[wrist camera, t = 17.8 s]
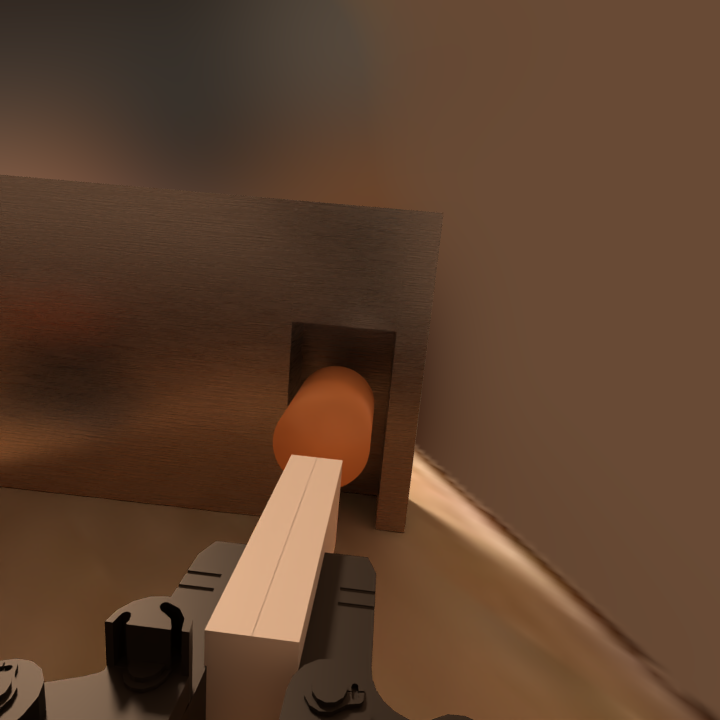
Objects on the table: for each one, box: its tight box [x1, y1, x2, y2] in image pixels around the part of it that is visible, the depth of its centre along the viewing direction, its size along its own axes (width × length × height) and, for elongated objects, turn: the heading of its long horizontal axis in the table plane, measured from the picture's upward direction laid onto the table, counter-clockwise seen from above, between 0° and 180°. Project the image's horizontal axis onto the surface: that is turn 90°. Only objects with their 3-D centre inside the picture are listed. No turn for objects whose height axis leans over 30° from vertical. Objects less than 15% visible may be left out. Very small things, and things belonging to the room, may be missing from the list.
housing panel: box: [0, 175, 443, 532], centre depth 25 cm, size 26×4×16 cm, turn 86°
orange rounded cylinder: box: [273, 366, 374, 487], centre depth 20 cm, size 4×5×4 cm
